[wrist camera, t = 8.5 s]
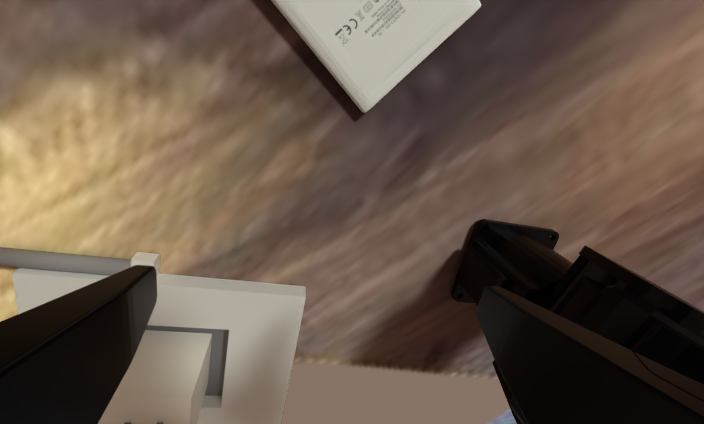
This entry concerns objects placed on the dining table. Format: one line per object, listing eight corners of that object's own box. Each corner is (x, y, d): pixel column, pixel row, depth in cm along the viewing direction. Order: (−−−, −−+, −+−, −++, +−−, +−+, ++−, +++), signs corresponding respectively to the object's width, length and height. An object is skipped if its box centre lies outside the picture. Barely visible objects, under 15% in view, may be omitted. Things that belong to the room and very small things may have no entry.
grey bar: (159, 253, 20) (153, 261, 19) (159, 278, 21) (153, 288, 20) (-18, 235, 18) (-35, 244, 17) (-13, 264, 19) (-29, 273, 18)
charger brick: (212, 333, 23) (185, 415, 17) (207, 384, 24) (182, 474, 19) (136, 329, 22) (82, 415, 16) (137, 382, 23) (88, 477, 18)
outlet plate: (305, 286, 23) (305, 296, 22) (279, 421, 27) (278, 436, 26) (28, 261, 19) (12, 272, 18) (49, 422, 23) (37, 439, 22)
